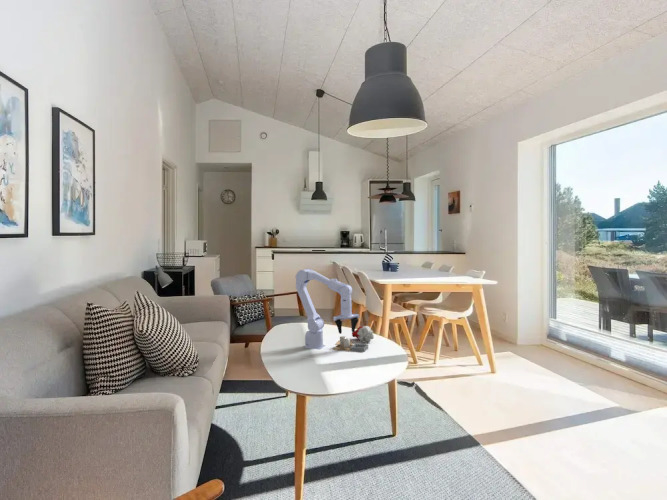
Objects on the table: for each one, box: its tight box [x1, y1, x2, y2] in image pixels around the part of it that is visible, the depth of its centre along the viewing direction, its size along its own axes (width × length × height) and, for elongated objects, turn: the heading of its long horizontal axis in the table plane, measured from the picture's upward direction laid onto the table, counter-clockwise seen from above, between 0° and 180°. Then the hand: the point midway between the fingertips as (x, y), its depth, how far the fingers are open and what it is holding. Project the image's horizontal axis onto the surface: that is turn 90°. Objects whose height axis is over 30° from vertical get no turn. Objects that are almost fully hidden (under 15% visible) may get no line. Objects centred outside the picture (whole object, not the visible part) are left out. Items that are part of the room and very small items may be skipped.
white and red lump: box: [351, 325, 374, 343], centre depth 250 cm, size 9×11×15 cm
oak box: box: [333, 343, 355, 352], centre depth 234 cm, size 9×9×2 cm
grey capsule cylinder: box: [339, 335, 347, 348], centre depth 236 cm, size 3×3×6 cm
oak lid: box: [334, 339, 355, 346], centre depth 244 cm, size 9×9×2 cm
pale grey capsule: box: [344, 337, 351, 348], centre depth 232 cm, size 3×3×6 cm
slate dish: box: [351, 343, 369, 353], centre depth 231 cm, size 7×7×2 cm
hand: (346, 332), depth 231 cm, fingers open, 7 cm apart
